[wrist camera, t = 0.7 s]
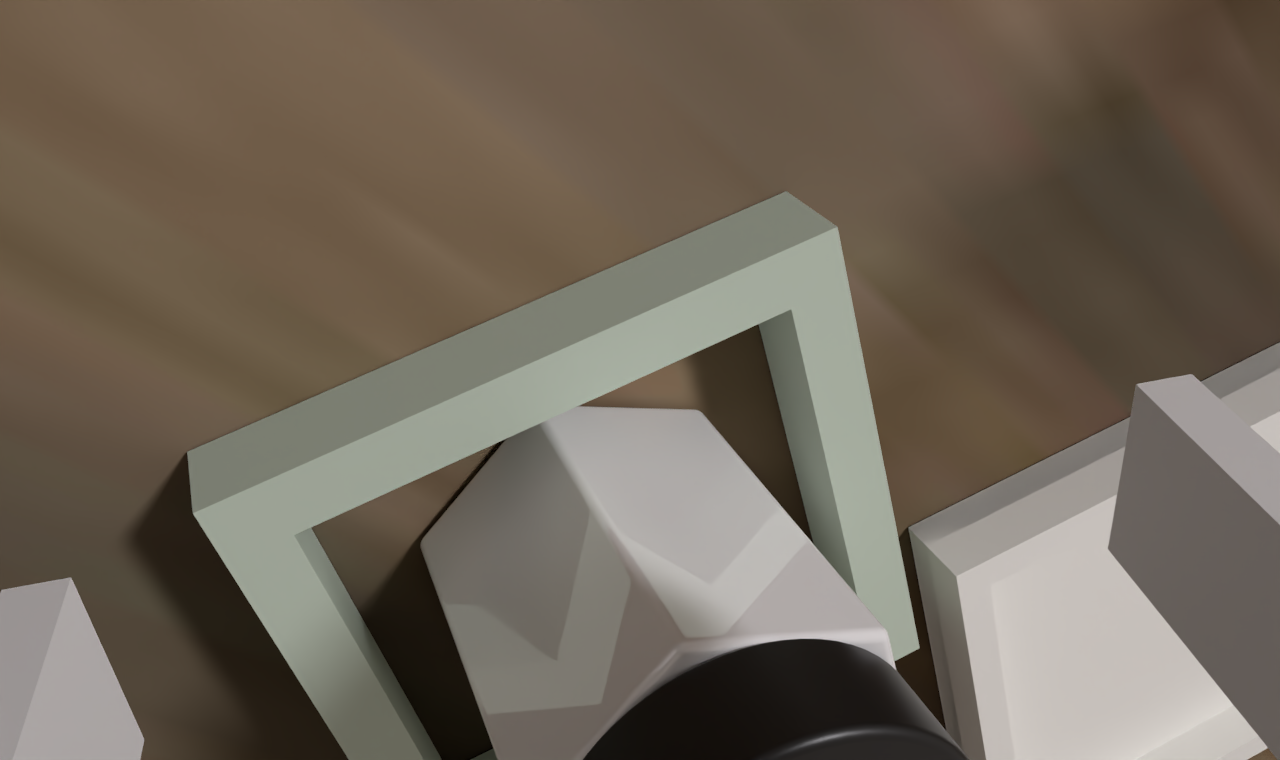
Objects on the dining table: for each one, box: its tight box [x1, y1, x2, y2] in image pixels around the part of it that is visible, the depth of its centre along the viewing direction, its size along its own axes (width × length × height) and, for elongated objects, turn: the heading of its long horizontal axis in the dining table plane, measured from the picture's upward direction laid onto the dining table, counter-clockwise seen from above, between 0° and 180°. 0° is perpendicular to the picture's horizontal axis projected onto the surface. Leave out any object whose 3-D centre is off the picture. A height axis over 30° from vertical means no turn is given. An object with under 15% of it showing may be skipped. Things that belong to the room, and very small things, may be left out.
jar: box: [421, 406, 969, 760], centre depth 26 cm, size 9×8×12 cm
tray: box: [908, 342, 1280, 760], centre depth 40 cm, size 16×16×2 cm
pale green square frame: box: [187, 191, 920, 760], centre depth 30 cm, size 14×15×2 cm
